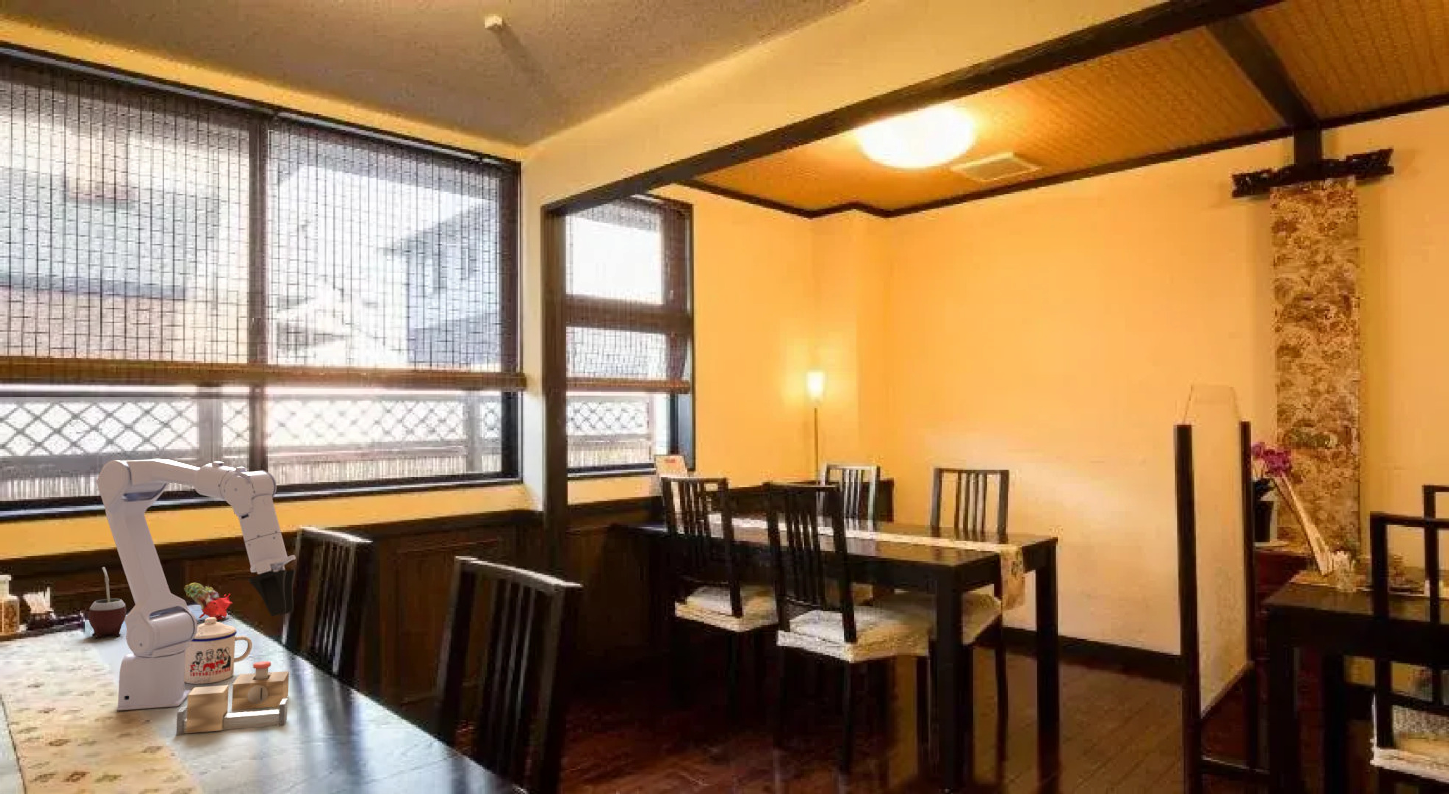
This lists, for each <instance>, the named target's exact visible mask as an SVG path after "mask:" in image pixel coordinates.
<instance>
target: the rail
mask: <svg viewBox="0 0 1449 794" xmlns="http://www.w3.org/2000/svg"><path fill="white" fill-rule="evenodd" d="M288 699H289V698H288V697H287V698H286V699H282V701H281V703H280V704H279V707H278V708H279V709H269V710H255V711H254V710H253V711H243V712H231V713H230V712H229V713H228V712H227V714H224V715H223V728H222V730H221V731H228V730H237V729H249V728H250V729H252V728H260V727H261V728H262V727H263V728H264V727H274V726H278V727H285V725H286V722H287V720H288V701H289V700H288ZM186 726H187V705H183V706H181V707H180V709H179V710H178V711H177V713H176V731H175V732H176V736H177V735H178V736H180V735H183V734H187V733H186Z"/></svg>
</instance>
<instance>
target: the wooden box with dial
mask: <svg viewBox="0 0 1449 794" xmlns="http://www.w3.org/2000/svg"><path fill="white" fill-rule="evenodd" d="M255 674H256V672H255V673H243V674H242V673H240V674H239V675H238V677H236V679H235V680H234V682H233V683H232V690H231V691H232V694H231V697H232V698H231V711H238V710H239V711H240V710H251V709H253V710H254V709H262V708H263V709H264V708H277V707H278V708H279V704H280V703H281V701H282V699H286V698H288V697H289V682H290V681H289V680H290V671H288V670H286V671H271V672H269V671H268V679H263V680H255ZM287 696H288V697H287Z"/></svg>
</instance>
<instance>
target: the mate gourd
mask: <svg viewBox="0 0 1449 794" xmlns="http://www.w3.org/2000/svg"><path fill="white" fill-rule="evenodd" d="M101 570H102V571H103V573H104V575H103V576H104V583H105V587H106V590H105V591H106V599H98V600H95V601H93V603H92V604H91V606H90V607H89V610H88V614H87V619H88V622H89V624H90V627H91V628H92V629H93V633H91V635H92V637H94V639H95V640H101V639H104V638H107V637H113V638H114V637H116V638H117V637H121V636H122V633H121V629H122V626H123V624H124V623H125V621H124V619H125V618H126V616H127V607H126V603H125V602H124V601H123V600H122V598H121V599H120V598H111V595H110V584H109V583H110V579H109V576H108V572H107V569H106V567H105V566H103V567H101Z"/></svg>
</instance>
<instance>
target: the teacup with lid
mask: <svg viewBox="0 0 1449 794" xmlns="http://www.w3.org/2000/svg"><path fill="white" fill-rule="evenodd" d="M236 641H245V642H247V643H246V644H247V648H246V650H245V651H244V653H243V654H242V655H240V656H238V657H235V651H236V650H235V648H236V647H235V646H236V645H235V644H236ZM252 648H253V642H252V639H250V638H249V637H248V636H246V635H237V629H236V627H234V626H232V625H226V624H224V623H222V622H220V621H217V619H216V618H215V617H209V616H208V617H207V618H205V619H204V622H202V623H200V624H197V633H196V635H195V637H194V638H193V639H192V640H191V641H190V642H189V647H188V648H186V649H185V673H184V683H186V684H190V685H191V684H193V685H204V684H205V685H206V684H211V683H212V684H213V683H218V682H219V683H220V682H221V681H225V680H228V679H230V678H232V676H234V672H235V663H239V662H241V661H243V660H245V659H246V658H247V657H248V656H249V655H250V653H251V651H252Z"/></svg>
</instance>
